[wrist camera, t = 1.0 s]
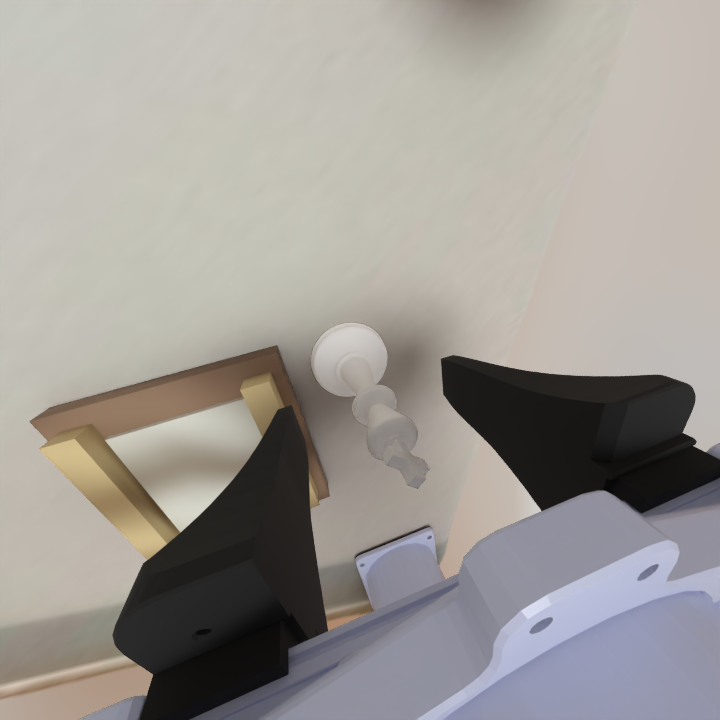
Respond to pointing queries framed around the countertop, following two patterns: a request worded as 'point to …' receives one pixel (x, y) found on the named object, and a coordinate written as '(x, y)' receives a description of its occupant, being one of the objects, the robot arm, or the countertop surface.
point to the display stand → (171, 443)
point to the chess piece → (368, 394)
